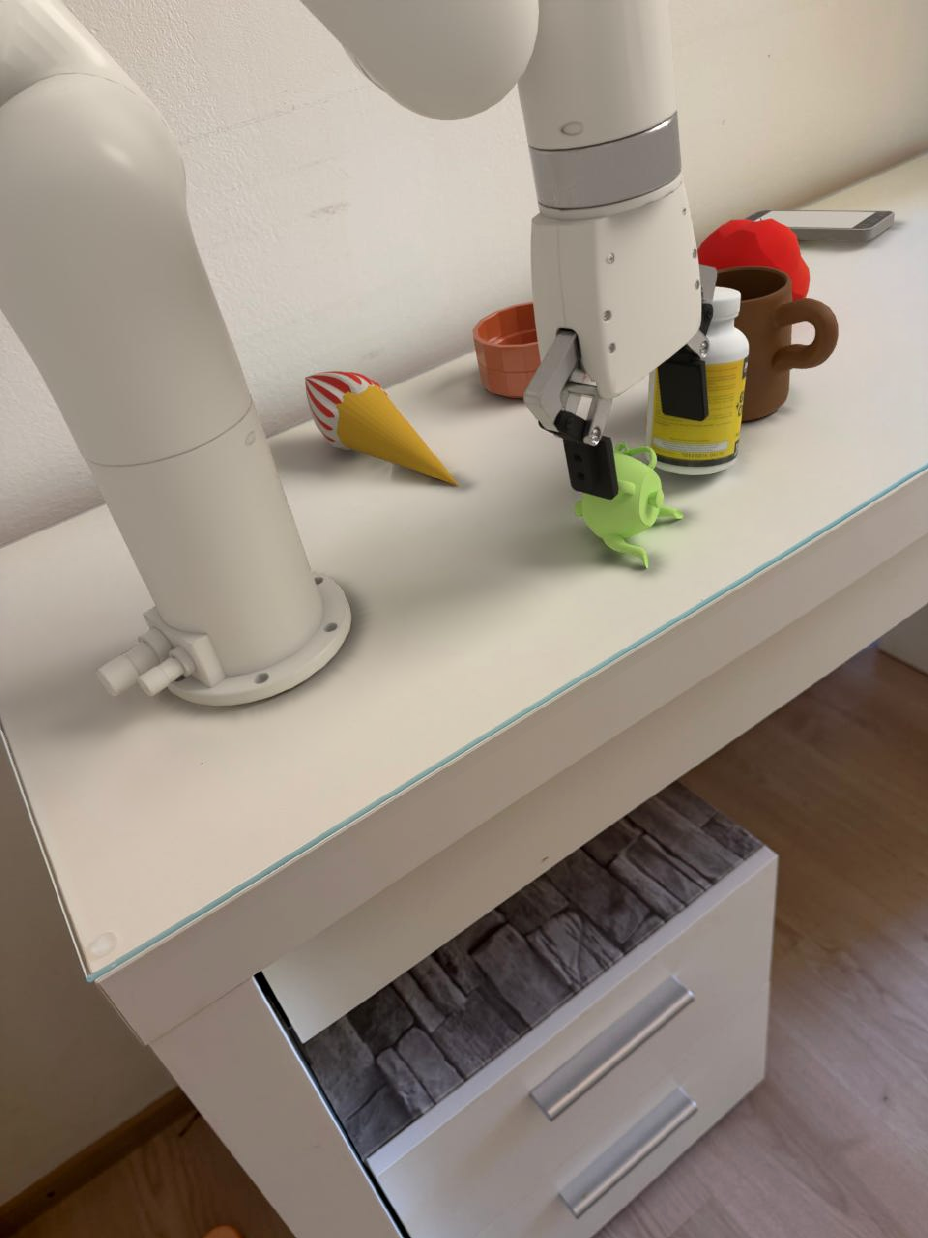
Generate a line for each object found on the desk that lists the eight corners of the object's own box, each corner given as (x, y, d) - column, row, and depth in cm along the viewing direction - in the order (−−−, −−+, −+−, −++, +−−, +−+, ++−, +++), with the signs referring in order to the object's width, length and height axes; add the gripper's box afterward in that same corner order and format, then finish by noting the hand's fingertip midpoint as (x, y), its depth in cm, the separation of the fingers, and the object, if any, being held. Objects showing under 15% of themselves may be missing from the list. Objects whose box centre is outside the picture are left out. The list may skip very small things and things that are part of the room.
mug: (861, 406, 70) (872, 281, 64) (798, 450, 67) (804, 322, 61) (729, 372, 78) (728, 258, 72) (668, 410, 75) (662, 294, 69)
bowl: (544, 410, 79) (536, 354, 76) (459, 390, 85) (449, 337, 82) (615, 361, 84) (610, 307, 81) (530, 346, 90) (522, 294, 87)
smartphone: (869, 229, 93) (729, 226, 102) (868, 241, 93) (729, 237, 102) (897, 210, 97) (760, 209, 106) (896, 221, 97) (760, 219, 106)
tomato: (658, 292, 85) (708, 229, 86) (741, 367, 86) (789, 304, 87) (706, 242, 76) (762, 173, 77) (799, 327, 77) (851, 256, 78)
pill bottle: (737, 480, 64) (758, 303, 58) (640, 476, 65) (651, 302, 59) (735, 447, 69) (754, 283, 63) (646, 444, 70) (656, 282, 65)
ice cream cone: (451, 535, 74) (303, 424, 84) (500, 470, 74) (345, 367, 84) (414, 505, 69) (260, 390, 79) (467, 435, 68) (306, 329, 78)
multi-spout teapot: (646, 568, 59) (640, 490, 55) (570, 554, 62) (560, 478, 58) (683, 516, 63) (680, 440, 59) (610, 505, 65) (602, 431, 62)
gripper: (642, 114, 55) (669, 382, 65) (441, 225, 47) (508, 511, 57) (759, 108, 50) (768, 398, 60) (558, 231, 42) (608, 542, 52)
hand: (642, 453), depth 59 cm, fingers open, 9 cm apart
